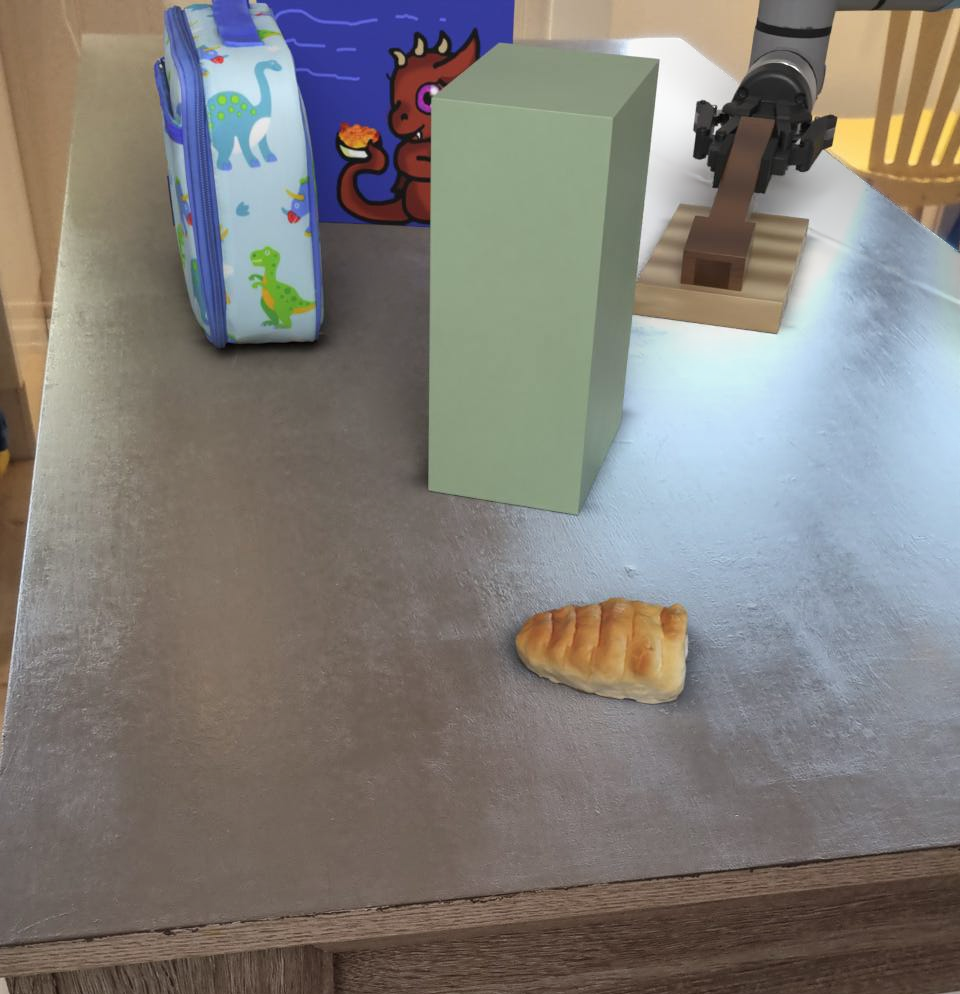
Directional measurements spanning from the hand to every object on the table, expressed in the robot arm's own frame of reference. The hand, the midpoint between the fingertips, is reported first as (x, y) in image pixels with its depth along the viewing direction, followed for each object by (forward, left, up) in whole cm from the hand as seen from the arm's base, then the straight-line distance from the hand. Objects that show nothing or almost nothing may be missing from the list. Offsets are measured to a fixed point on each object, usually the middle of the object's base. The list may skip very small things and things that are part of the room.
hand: (740, 173), depth 116 cm
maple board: (-2, +1, -8) cm, 8 cm away
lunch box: (+10, +41, -8) cm, 43 cm away
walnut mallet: (-1, +1, -3) cm, 3 cm away
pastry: (-48, +43, -8) cm, 65 cm away
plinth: (-23, +34, -8) cm, 43 cm away
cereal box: (+25, +20, -8) cm, 34 cm away
